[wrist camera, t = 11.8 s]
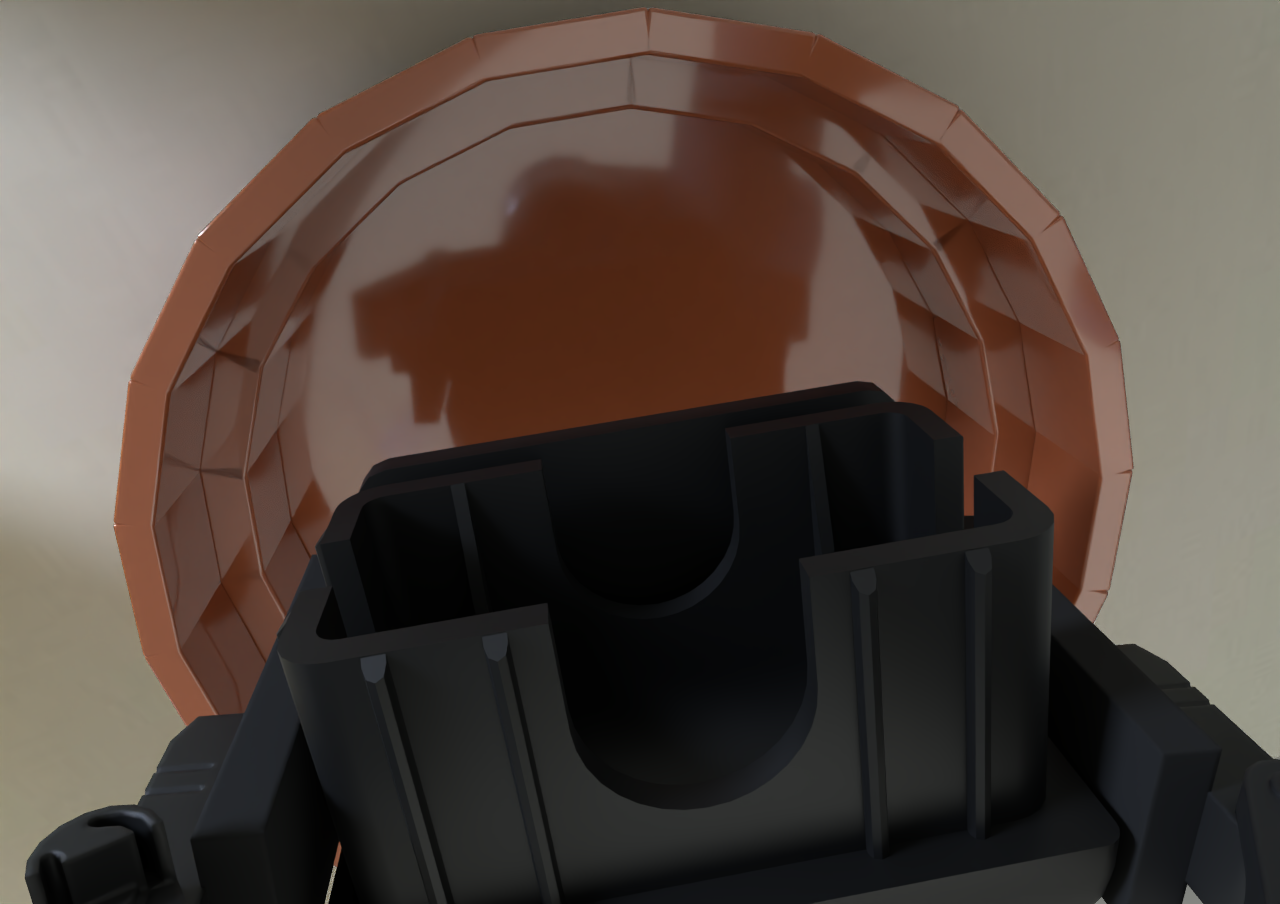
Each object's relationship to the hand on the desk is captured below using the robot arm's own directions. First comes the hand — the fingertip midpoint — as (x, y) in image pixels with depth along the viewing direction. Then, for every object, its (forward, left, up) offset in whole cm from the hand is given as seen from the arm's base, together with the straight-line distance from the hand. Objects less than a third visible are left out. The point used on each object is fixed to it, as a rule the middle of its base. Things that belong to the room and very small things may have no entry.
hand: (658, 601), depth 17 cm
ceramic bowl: (0, 0, -7) cm, 7 cm away
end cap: (0, 0, 0) cm, 0 cm away
